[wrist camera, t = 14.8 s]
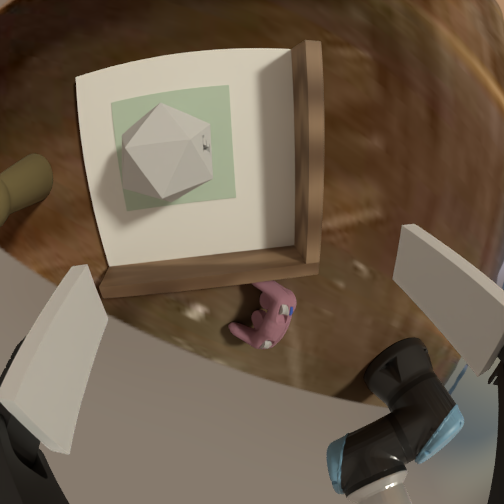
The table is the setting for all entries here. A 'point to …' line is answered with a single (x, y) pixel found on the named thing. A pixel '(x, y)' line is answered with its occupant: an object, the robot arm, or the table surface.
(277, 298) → the video game controller
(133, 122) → the wooden corner tray
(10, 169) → the olive pawn figure
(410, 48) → the table surface
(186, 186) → the die
